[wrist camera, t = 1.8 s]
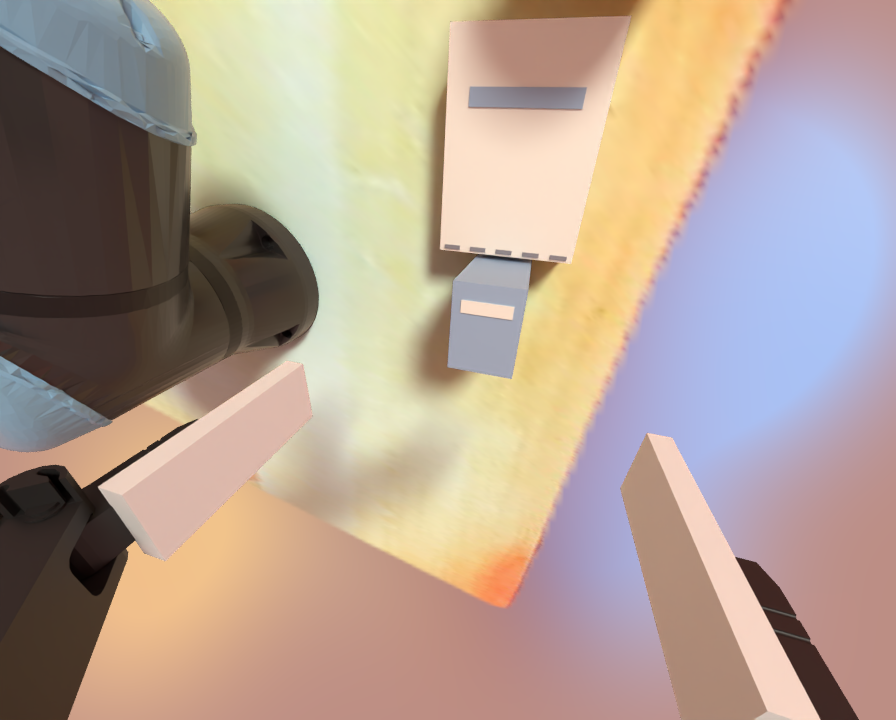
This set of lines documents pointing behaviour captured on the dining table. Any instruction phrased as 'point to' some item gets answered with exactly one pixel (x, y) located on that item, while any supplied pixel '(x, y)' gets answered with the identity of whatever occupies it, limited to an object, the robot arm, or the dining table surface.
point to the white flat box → (525, 131)
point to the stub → (488, 314)
